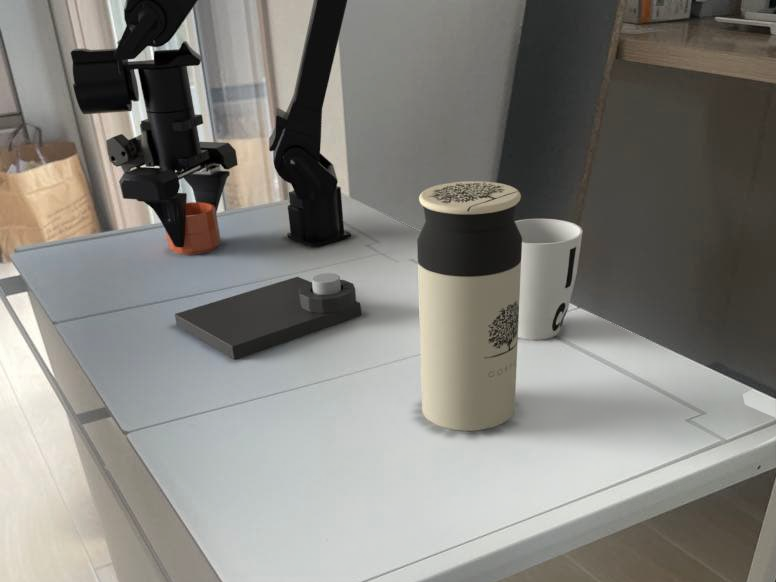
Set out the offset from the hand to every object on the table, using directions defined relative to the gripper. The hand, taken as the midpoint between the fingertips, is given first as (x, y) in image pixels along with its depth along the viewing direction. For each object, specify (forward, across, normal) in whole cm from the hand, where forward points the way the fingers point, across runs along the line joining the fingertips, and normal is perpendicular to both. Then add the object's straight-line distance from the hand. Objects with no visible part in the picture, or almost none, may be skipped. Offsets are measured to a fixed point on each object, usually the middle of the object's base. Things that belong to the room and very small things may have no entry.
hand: (194, 238), depth 112 cm
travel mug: (+1, +35, +48) cm, 59 cm away
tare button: (-1, +18, +27) cm, 33 cm away
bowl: (+1, 0, 0) cm, 1 cm away
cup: (+1, +16, +50) cm, 52 cm away
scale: (+1, +21, +22) cm, 30 cm away
